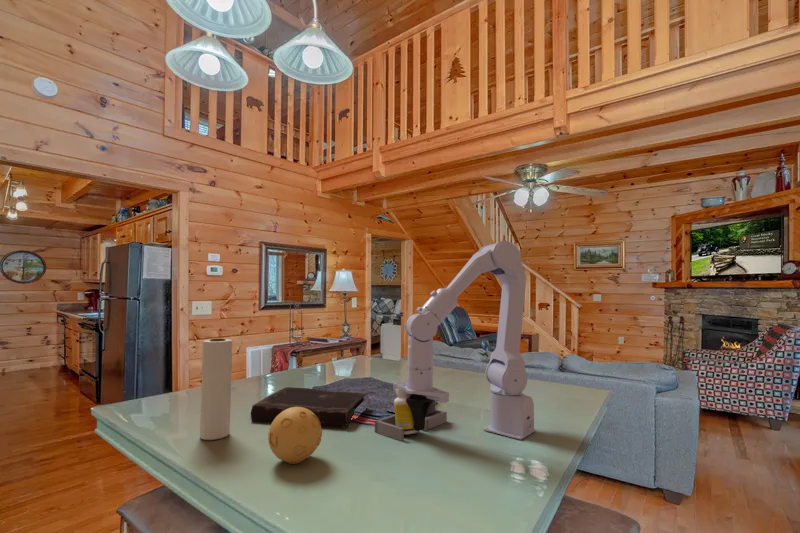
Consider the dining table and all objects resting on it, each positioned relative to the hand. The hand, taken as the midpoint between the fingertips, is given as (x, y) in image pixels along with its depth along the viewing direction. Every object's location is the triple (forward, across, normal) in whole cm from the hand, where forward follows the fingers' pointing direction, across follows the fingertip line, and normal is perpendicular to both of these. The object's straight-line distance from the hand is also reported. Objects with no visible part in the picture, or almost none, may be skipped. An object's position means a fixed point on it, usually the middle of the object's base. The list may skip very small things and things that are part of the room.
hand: (419, 429), depth 88 cm
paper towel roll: (+2, -35, -30) cm, 46 cm away
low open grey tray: (+2, -10, +4) cm, 11 cm away
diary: (+3, -31, -6) cm, 32 cm away
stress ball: (+2, -10, -26) cm, 28 cm away
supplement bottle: (+2, -3, 0) cm, 4 cm away
